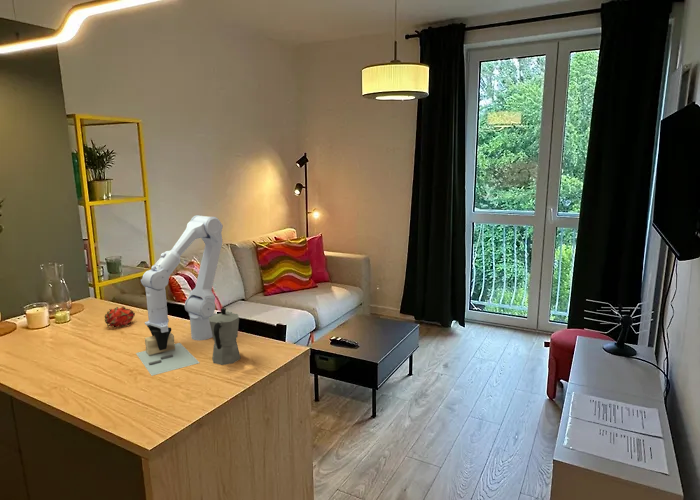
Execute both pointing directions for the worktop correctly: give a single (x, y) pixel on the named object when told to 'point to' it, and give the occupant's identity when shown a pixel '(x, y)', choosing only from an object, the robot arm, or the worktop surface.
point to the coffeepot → (225, 337)
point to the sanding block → (153, 347)
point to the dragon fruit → (119, 317)
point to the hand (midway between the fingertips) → (160, 347)
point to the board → (168, 360)
